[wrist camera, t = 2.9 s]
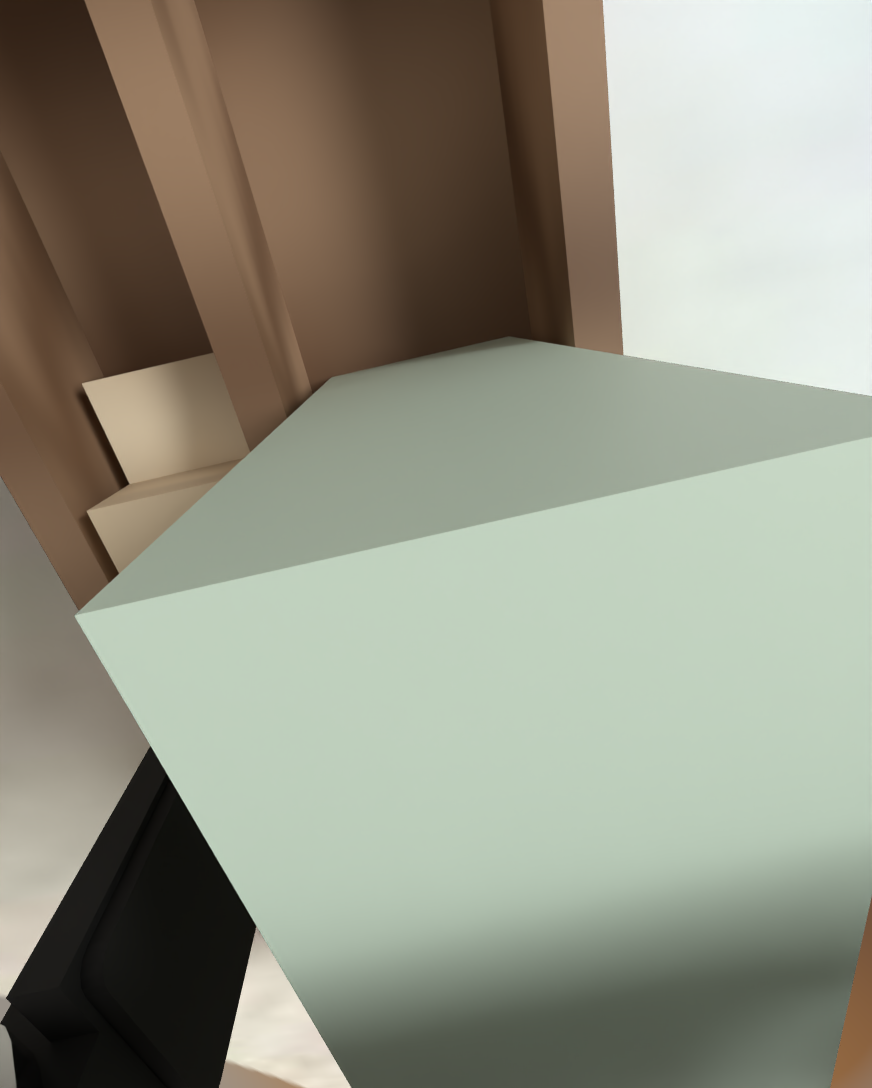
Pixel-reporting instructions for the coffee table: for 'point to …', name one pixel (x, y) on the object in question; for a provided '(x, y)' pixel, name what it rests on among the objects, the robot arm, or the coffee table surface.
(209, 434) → the offcut lower
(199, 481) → the offcut upper
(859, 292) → the coffee table surface
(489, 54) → the tray
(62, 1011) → the robot arm
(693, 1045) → the pale green block
